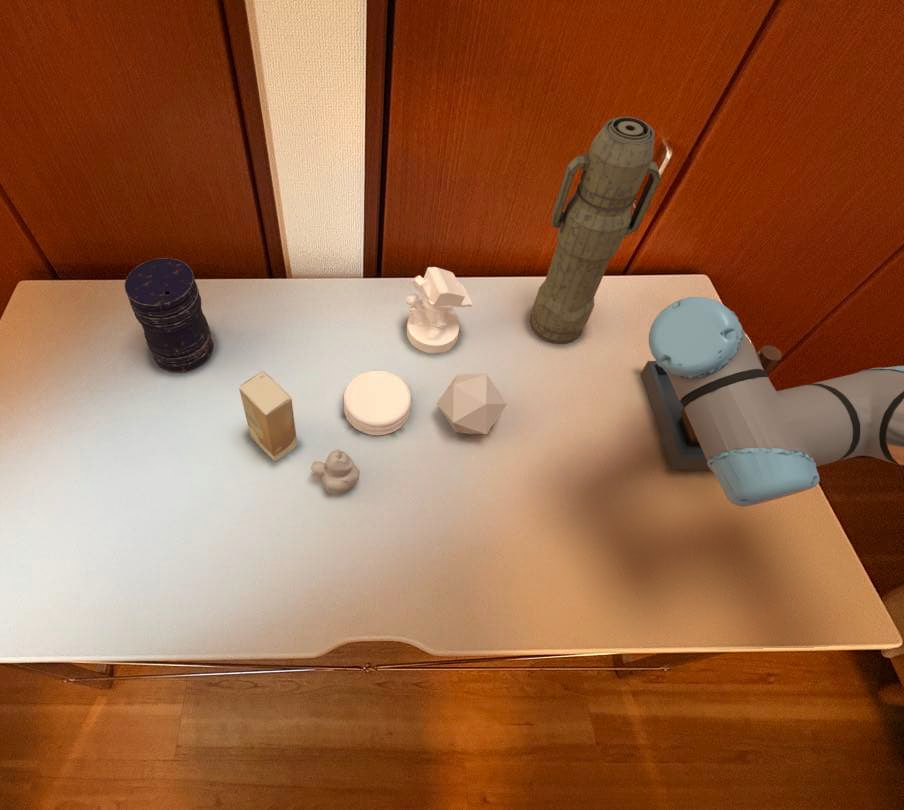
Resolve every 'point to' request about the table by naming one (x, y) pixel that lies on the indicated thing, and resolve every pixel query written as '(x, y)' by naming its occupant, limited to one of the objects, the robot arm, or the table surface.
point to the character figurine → (435, 311)
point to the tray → (671, 420)
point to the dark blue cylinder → (170, 314)
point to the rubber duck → (336, 472)
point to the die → (471, 404)
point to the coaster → (377, 402)
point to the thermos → (594, 224)
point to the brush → (768, 361)
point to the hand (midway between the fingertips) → (746, 395)
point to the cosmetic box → (269, 415)
